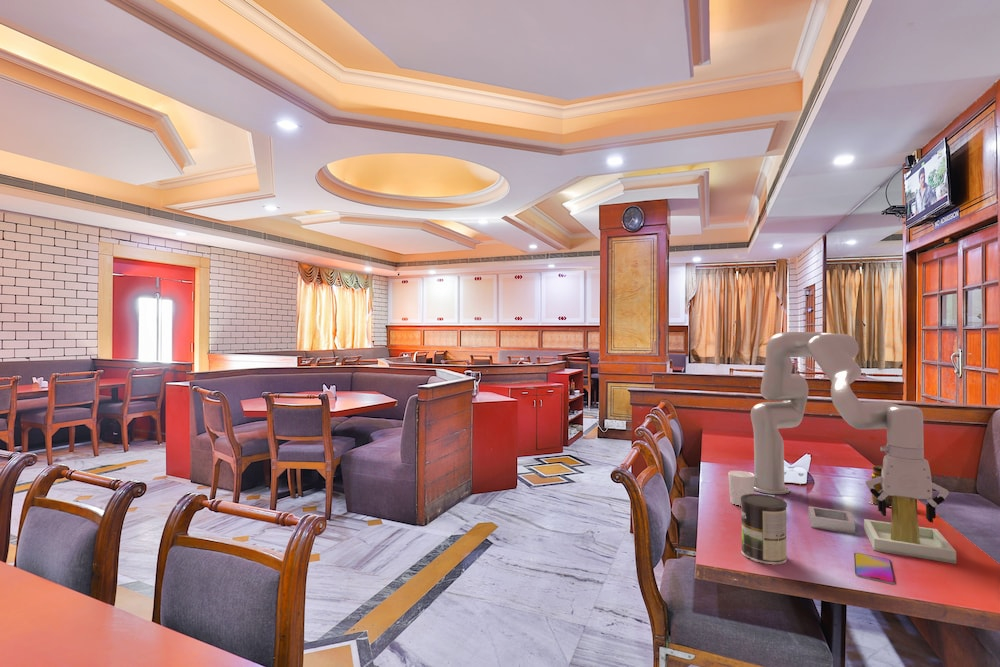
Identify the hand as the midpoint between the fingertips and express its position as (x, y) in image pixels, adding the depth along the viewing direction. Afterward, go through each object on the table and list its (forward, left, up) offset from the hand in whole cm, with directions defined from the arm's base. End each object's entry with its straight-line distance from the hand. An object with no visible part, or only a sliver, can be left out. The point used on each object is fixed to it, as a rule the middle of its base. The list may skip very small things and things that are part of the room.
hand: (906, 517), depth 131 cm
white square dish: (-16, +8, -7) cm, 19 cm away
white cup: (-40, +16, -7) cm, 44 cm away
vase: (0, 0, -7) cm, 7 cm away
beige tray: (0, 0, -7) cm, 7 cm away
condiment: (+2, +38, -8) cm, 39 cm away
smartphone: (-10, -20, -8) cm, 24 cm away
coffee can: (-33, -25, -7) cm, 42 cm away
